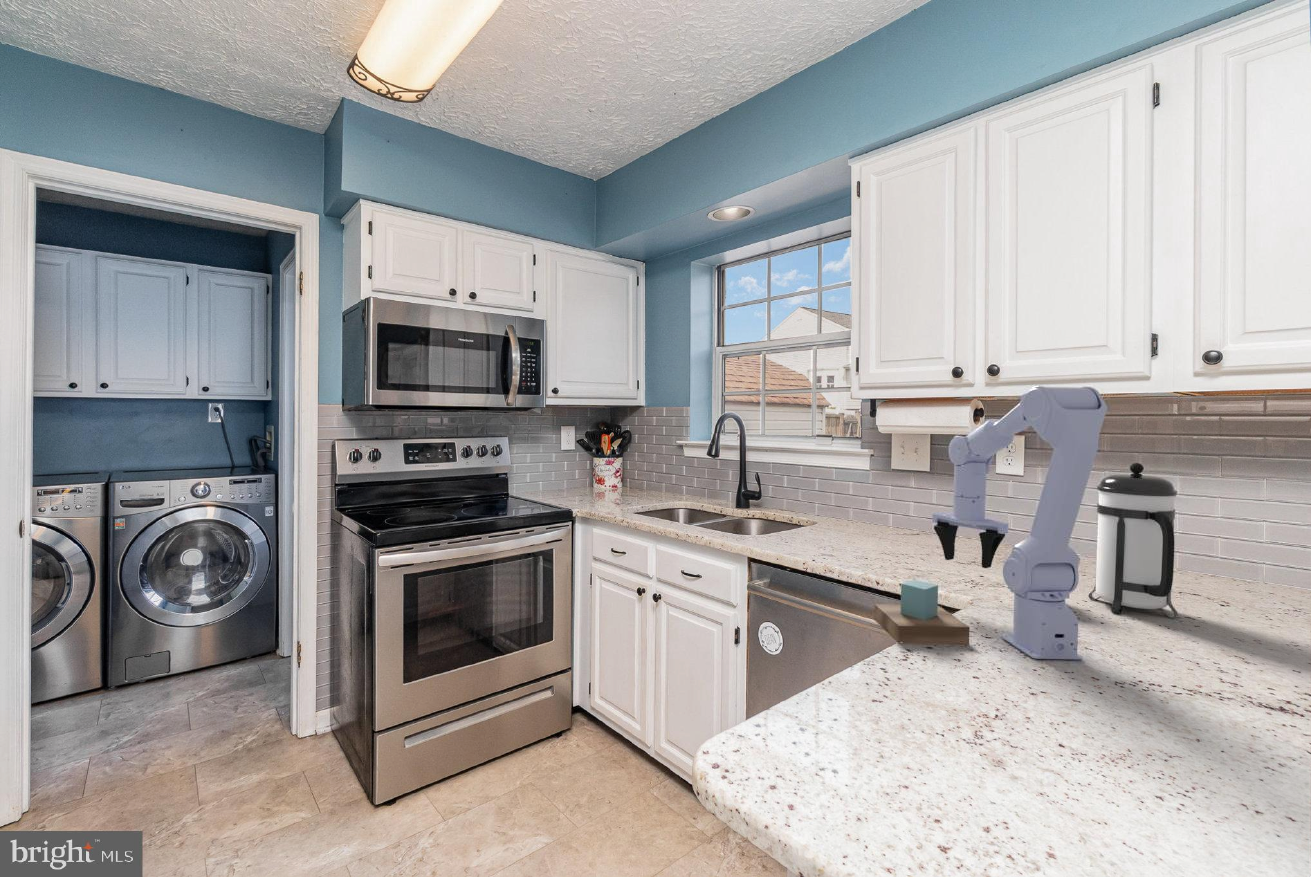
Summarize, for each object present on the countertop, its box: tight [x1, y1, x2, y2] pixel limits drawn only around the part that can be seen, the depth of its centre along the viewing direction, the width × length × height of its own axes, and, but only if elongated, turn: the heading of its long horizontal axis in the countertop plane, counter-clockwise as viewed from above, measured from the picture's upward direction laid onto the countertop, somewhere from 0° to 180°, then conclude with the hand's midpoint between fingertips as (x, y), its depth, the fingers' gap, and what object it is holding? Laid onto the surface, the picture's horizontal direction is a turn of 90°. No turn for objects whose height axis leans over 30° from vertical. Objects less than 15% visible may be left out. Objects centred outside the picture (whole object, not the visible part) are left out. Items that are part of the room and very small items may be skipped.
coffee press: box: [1088, 462, 1179, 619], centre depth 122 cm, size 17×16×30 cm
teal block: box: [900, 579, 939, 620], centre depth 109 cm, size 4×4×6 cm
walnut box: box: [873, 603, 970, 645], centre depth 109 cm, size 12×12×4 cm
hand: (967, 563), depth 121 cm, fingers open, 7 cm apart
